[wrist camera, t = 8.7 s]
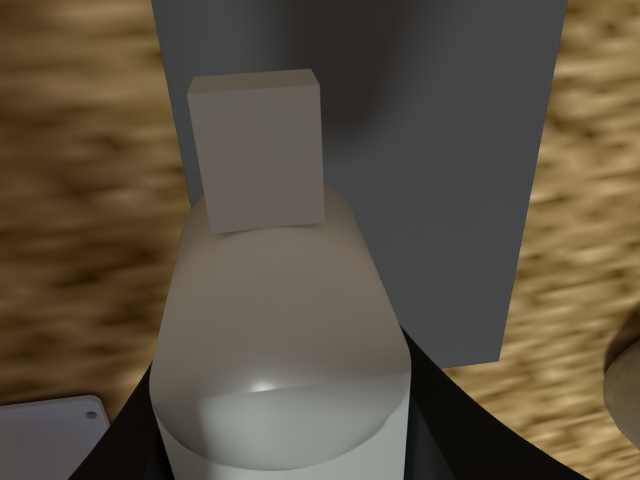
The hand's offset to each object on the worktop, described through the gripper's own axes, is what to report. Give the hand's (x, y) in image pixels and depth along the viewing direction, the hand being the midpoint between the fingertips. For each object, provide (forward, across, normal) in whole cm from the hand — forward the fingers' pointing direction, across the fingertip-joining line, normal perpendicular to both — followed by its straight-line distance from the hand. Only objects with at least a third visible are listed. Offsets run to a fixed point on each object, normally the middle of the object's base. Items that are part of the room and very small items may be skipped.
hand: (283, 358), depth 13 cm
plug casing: (+1, 0, -1) cm, 2 cm away
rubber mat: (+9, -4, +1) cm, 10 cm away
